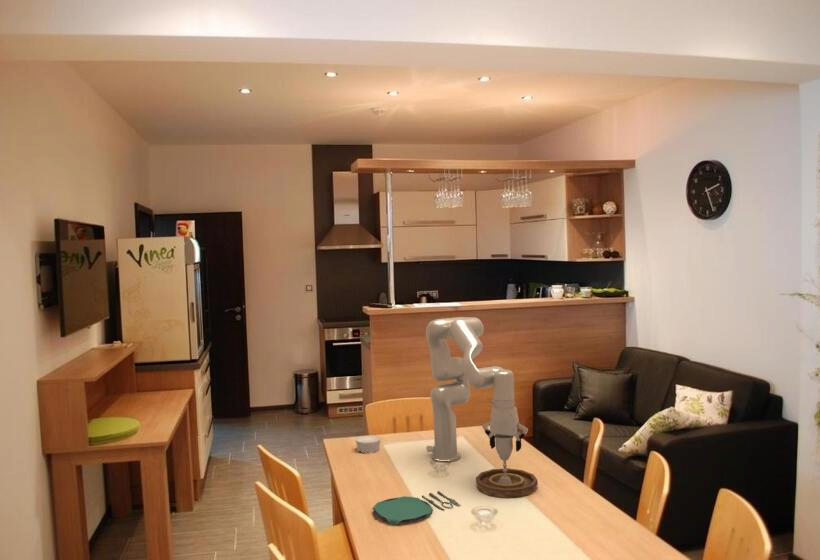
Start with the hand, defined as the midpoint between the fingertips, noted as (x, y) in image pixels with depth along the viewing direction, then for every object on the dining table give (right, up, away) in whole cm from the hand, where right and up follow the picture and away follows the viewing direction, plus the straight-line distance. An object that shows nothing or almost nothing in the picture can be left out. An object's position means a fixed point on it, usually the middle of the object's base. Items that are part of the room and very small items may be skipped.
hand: (505, 449), depth 238 cm
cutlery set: (-34, -17, -17) cm, 41 cm away
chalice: (0, -13, +1) cm, 13 cm away
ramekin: (-54, -14, +51) cm, 75 cm away
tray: (0, -14, +1) cm, 14 cm away
